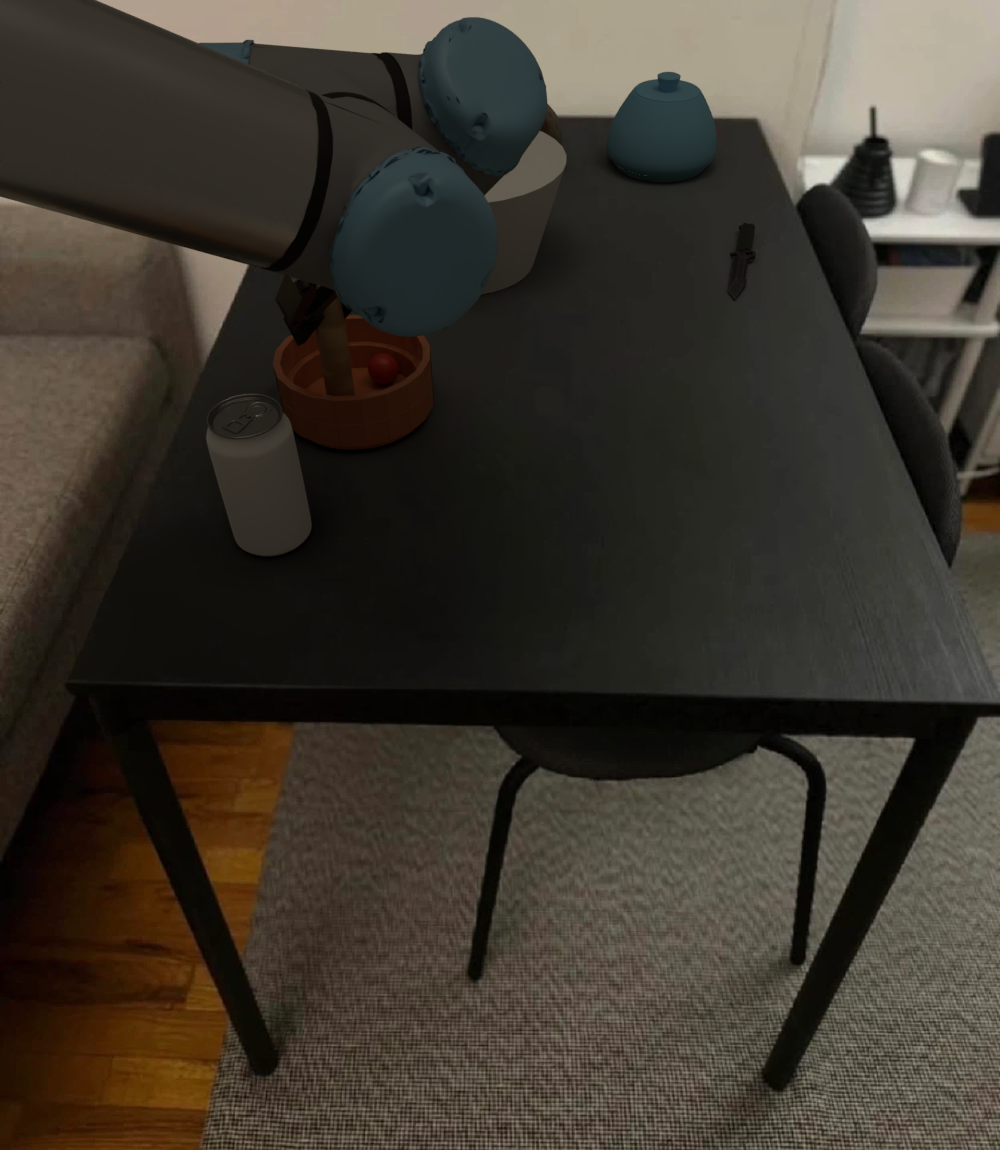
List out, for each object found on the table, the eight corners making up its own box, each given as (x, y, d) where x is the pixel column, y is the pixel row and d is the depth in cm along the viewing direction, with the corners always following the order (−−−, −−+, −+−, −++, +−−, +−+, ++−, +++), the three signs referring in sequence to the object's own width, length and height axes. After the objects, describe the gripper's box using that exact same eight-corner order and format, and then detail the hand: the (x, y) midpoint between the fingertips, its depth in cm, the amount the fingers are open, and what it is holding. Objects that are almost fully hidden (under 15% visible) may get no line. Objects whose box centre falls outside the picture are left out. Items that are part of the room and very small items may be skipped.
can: (328, 524, 79) (306, 406, 71) (276, 570, 75) (246, 451, 67) (271, 497, 82) (242, 381, 73) (218, 541, 78) (181, 423, 69)
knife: (734, 220, 116) (759, 220, 115) (734, 227, 117) (759, 227, 116) (722, 295, 104) (750, 296, 103) (722, 302, 105) (749, 303, 104)
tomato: (363, 384, 92) (359, 358, 90) (382, 370, 94) (379, 343, 92) (387, 393, 91) (384, 367, 89) (405, 379, 93) (403, 352, 91)
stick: (323, 409, 88) (290, 223, 75) (341, 396, 89) (312, 211, 76) (344, 418, 86) (315, 231, 74) (362, 404, 88) (337, 218, 75)
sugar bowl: (730, 179, 127) (745, 88, 119) (625, 191, 125) (633, 99, 116) (689, 138, 137) (701, 51, 129) (592, 148, 135) (597, 61, 127)
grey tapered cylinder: (572, 221, 119) (576, 122, 110) (550, 319, 102) (554, 211, 93) (387, 210, 121) (378, 113, 113) (337, 304, 105) (322, 198, 96)
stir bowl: (253, 421, 89) (240, 367, 85) (350, 352, 98) (343, 300, 93) (370, 473, 84) (362, 418, 79) (463, 395, 92) (460, 342, 88)
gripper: (328, 293, 61) (253, 394, 82) (511, 223, 68) (399, 332, 89) (272, 185, 60) (211, 315, 81) (464, 125, 67) (361, 260, 88)
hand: (309, 324), depth 85 cm, fingers closed on stick, 2 cm apart
